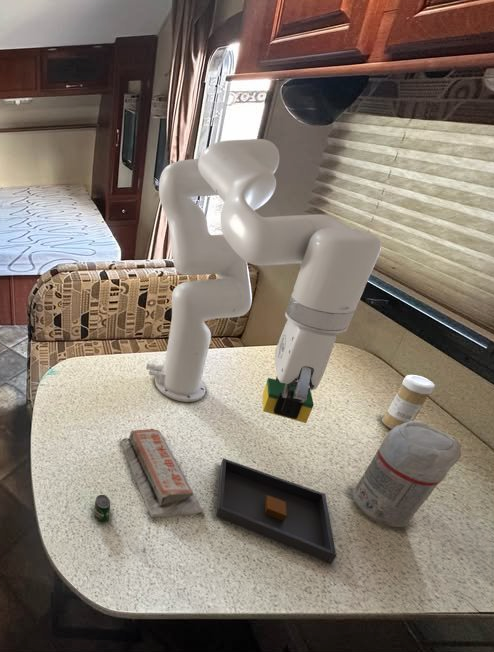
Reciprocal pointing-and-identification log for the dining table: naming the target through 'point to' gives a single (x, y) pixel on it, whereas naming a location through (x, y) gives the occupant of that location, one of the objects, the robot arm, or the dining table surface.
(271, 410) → the sponge
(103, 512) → the beer can
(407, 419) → the sprinkles bottle
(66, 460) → the dining table surface
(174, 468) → the packaged product
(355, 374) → the dining table surface
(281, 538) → the pan
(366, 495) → the grey plastic tub
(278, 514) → the brown square tile
